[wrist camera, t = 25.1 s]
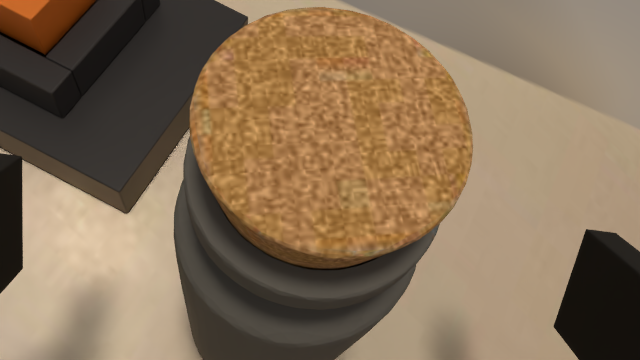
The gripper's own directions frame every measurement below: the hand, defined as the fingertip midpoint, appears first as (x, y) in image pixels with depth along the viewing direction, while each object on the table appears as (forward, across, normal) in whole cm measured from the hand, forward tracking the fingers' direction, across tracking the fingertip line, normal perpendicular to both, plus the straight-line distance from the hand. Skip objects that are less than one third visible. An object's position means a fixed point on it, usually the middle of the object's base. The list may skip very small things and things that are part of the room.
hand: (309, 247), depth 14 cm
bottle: (+8, 0, -7) cm, 10 cm away
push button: (+15, -11, +1) cm, 19 cm away
